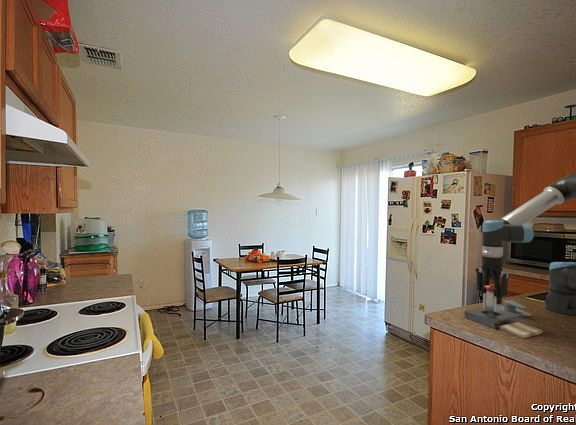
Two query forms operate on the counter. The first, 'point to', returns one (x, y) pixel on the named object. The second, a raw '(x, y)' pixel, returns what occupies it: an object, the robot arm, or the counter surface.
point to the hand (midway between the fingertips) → (491, 309)
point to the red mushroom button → (490, 299)
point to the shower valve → (514, 308)
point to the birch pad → (521, 329)
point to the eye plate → (491, 317)
